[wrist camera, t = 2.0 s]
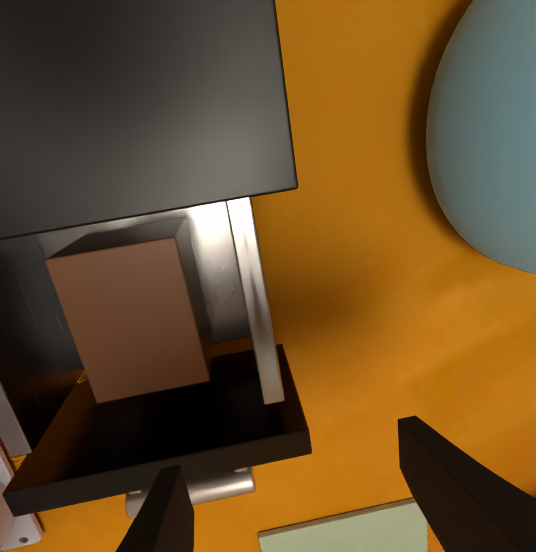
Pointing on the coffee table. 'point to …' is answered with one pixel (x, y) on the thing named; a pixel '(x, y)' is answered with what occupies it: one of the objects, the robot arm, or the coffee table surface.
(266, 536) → the mat
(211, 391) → the drawer
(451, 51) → the sugar bowl
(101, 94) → the cabinet
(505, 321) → the coffee table surface
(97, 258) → the brown block
